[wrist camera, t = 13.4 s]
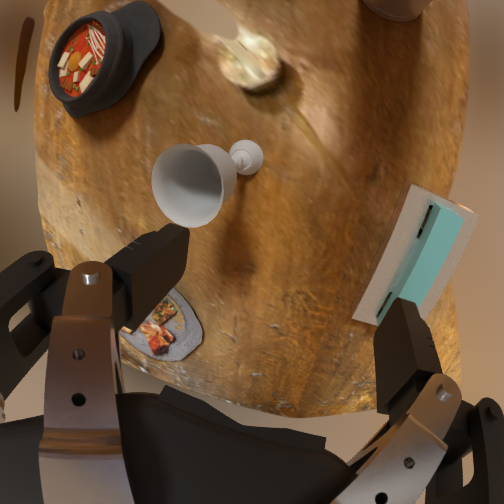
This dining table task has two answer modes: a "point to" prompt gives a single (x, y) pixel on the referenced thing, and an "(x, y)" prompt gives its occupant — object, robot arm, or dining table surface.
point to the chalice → (200, 179)
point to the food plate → (166, 331)
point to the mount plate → (409, 252)
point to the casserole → (102, 57)
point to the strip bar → (426, 256)
